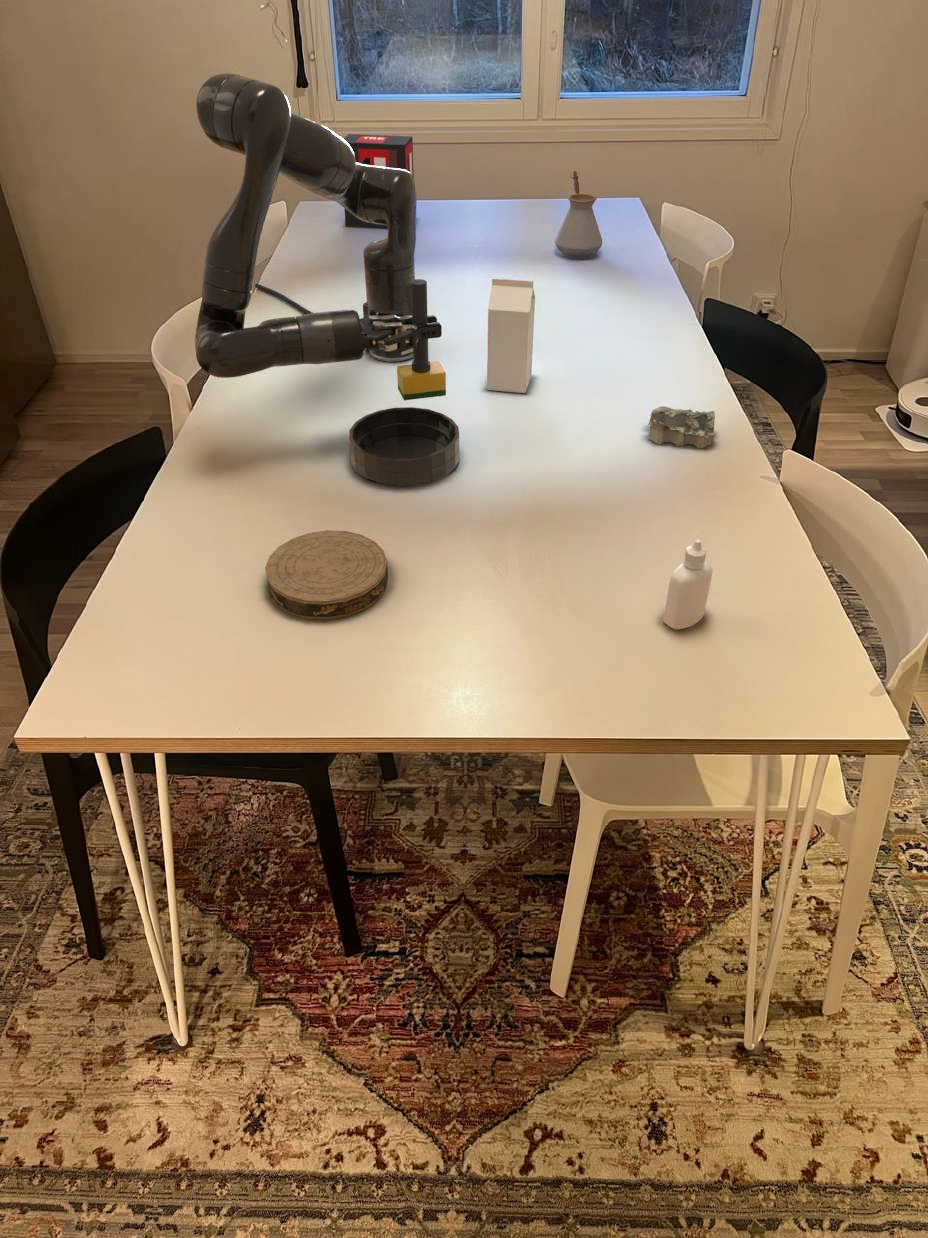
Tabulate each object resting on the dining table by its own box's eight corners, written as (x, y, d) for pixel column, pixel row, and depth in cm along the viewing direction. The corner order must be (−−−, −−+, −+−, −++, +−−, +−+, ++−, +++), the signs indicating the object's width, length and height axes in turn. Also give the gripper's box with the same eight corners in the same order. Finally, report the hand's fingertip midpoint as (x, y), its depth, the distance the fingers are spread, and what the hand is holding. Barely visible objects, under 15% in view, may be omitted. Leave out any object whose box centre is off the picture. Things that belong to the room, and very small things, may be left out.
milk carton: (525, 394, 169) (530, 288, 157) (486, 390, 170) (488, 285, 158) (531, 377, 174) (536, 274, 162) (493, 374, 176) (495, 271, 164)
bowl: (329, 469, 149) (326, 440, 146) (393, 425, 160) (391, 398, 157) (419, 500, 142) (418, 471, 138) (479, 452, 153) (479, 424, 150)
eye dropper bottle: (657, 609, 121) (669, 532, 113) (699, 607, 121) (715, 529, 114) (666, 631, 118) (680, 552, 110) (709, 628, 118) (726, 550, 110)
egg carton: (644, 443, 155) (647, 420, 152) (650, 422, 161) (652, 400, 158) (710, 451, 153) (715, 428, 150) (713, 429, 158) (717, 407, 156)
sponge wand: (403, 400, 151) (399, 288, 140) (397, 388, 155) (393, 278, 143) (445, 395, 153) (444, 284, 141) (439, 383, 156) (437, 274, 145)
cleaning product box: (415, 219, 249) (412, 136, 236) (407, 229, 242) (404, 144, 230) (354, 216, 251) (348, 133, 239) (345, 226, 244) (339, 142, 232)
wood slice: (286, 632, 118) (283, 614, 116) (255, 564, 129) (252, 546, 127) (405, 601, 122) (404, 582, 121) (365, 537, 134) (364, 520, 132)
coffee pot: (604, 261, 224) (610, 194, 214) (556, 261, 223) (560, 194, 214) (593, 232, 240) (598, 169, 231) (548, 233, 240) (551, 169, 230)
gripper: (334, 330, 136) (449, 318, 140) (319, 296, 147) (427, 286, 150) (338, 379, 141) (450, 366, 145) (324, 343, 152) (428, 332, 155)
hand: (438, 325), depth 148 cm, fingers closed on sponge wand, 2 cm apart
